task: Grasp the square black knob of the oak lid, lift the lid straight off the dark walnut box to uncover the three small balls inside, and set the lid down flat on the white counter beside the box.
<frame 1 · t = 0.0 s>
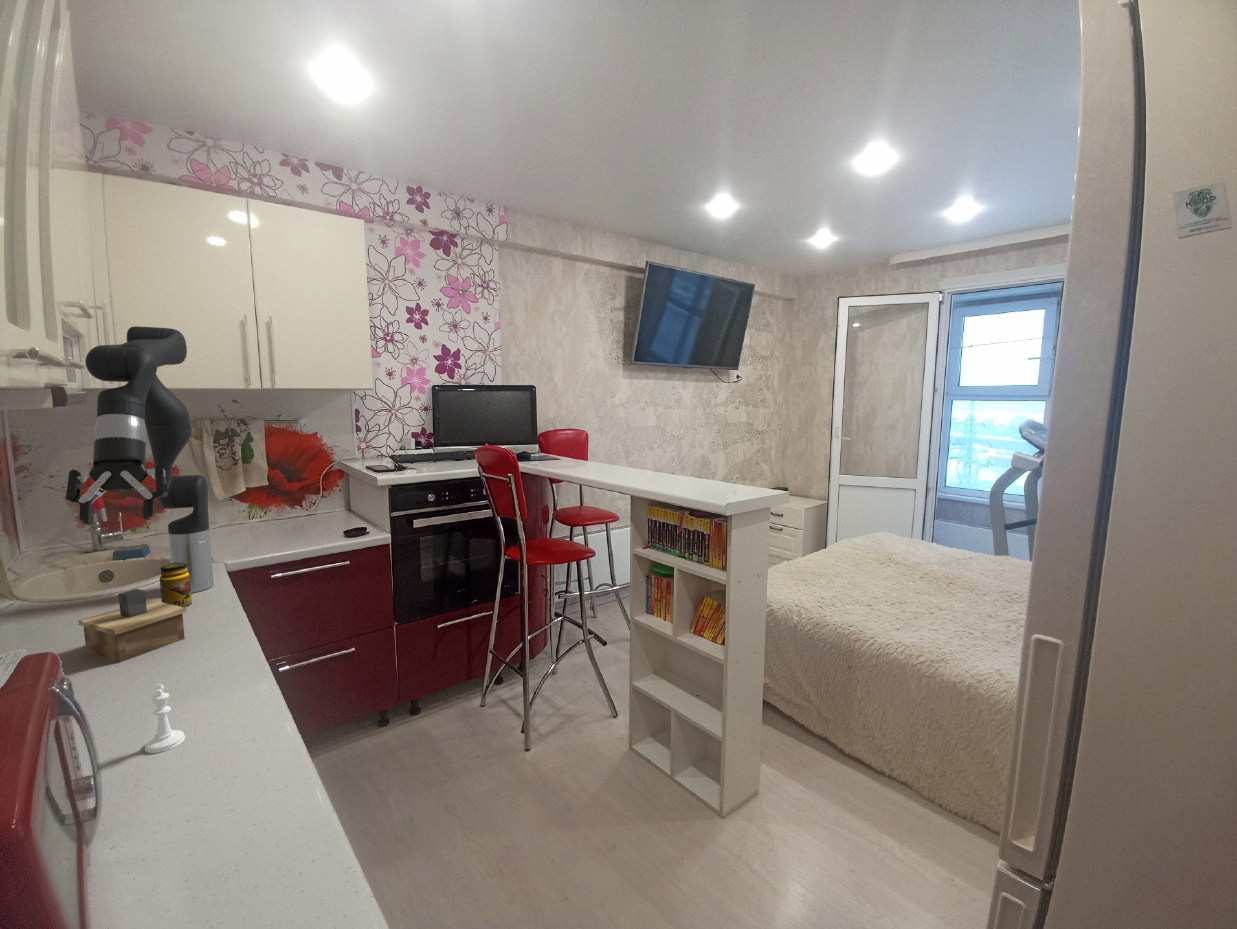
hand: (118, 521, 102), 31 cm above the countertop, tool tilted 20°, fingers open, 8 cm apart
chess piece: (165, 744, 85), on the countertop
condiment: (173, 610, 140), on the countertop
ball cream: (130, 651, 114), point 1 cm above the countertop, touching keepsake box
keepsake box: (137, 648, 117), on the countertop
lid: (134, 618, 117), point 7 cm above the countertop, touching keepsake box
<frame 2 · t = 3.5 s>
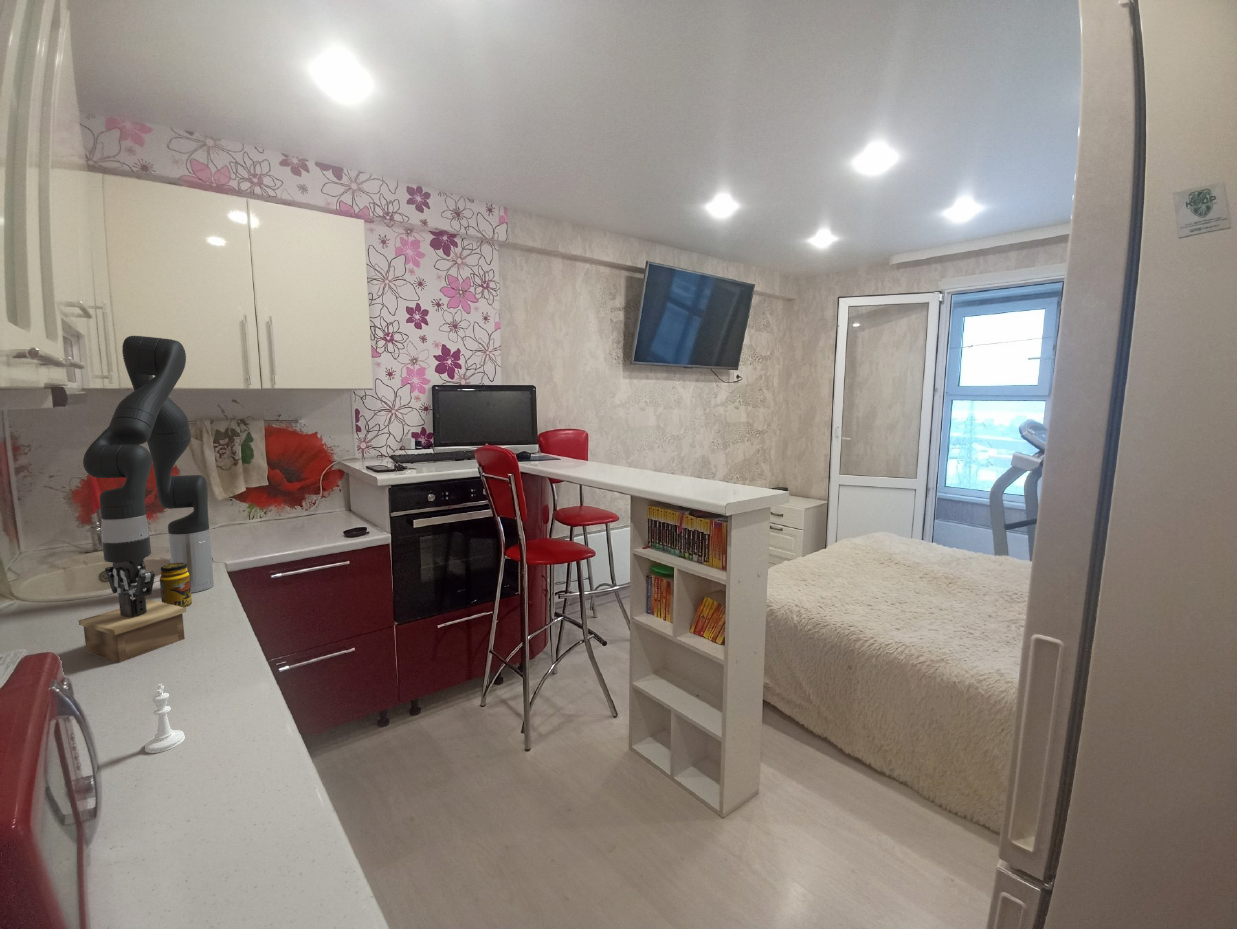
hand: (133, 613, 117), 8 cm above the countertop, tool pointing down, fingers closed on lid, 3 cm apart
lid: (134, 618, 117), point 7 cm above the countertop, touching gripper, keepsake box
everything else where it was.
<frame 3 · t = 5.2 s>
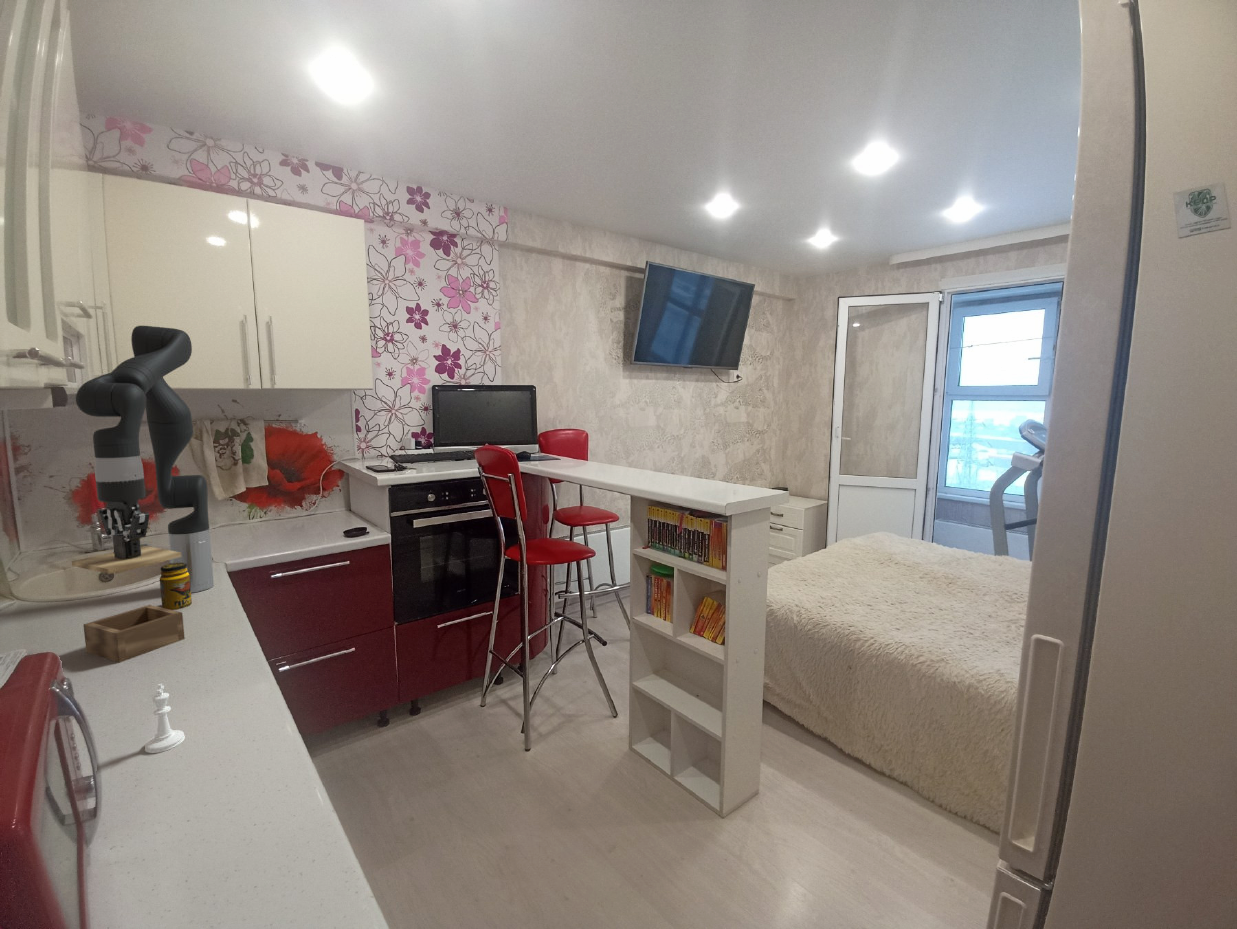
hand: (128, 555, 115), 21 cm above the countertop, tool pointing down, fingers closed on lid, 3 cm apart
lid: (128, 561, 115), point 20 cm above the countertop, touching gripper
everything else where it was.
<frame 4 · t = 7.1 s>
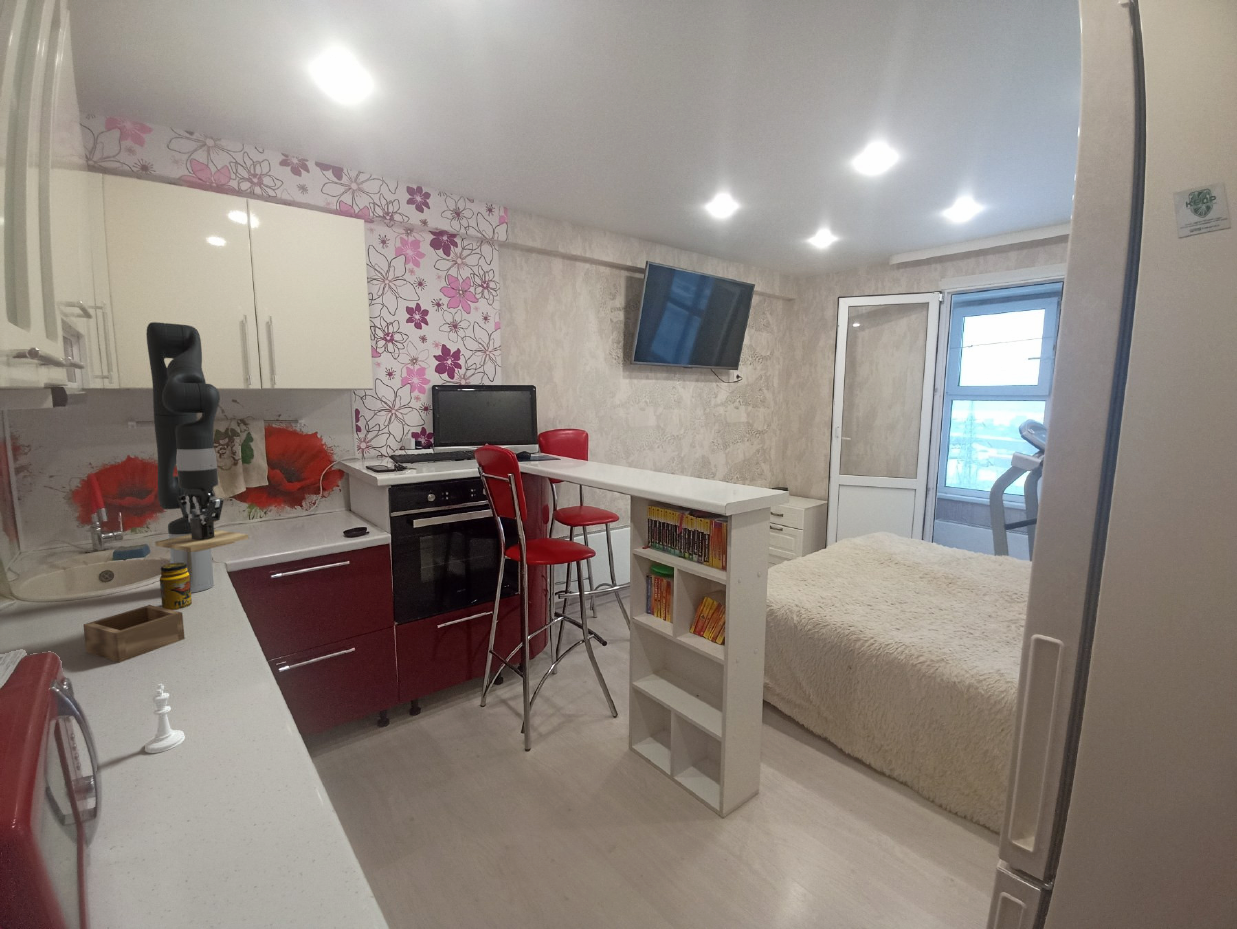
hand: (203, 537, 129), 22 cm above the countertop, tool pointing down, fingers closed on lid, 3 cm apart
lid: (203, 542, 129), point 20 cm above the countertop, touching gripper
everything else where it was.
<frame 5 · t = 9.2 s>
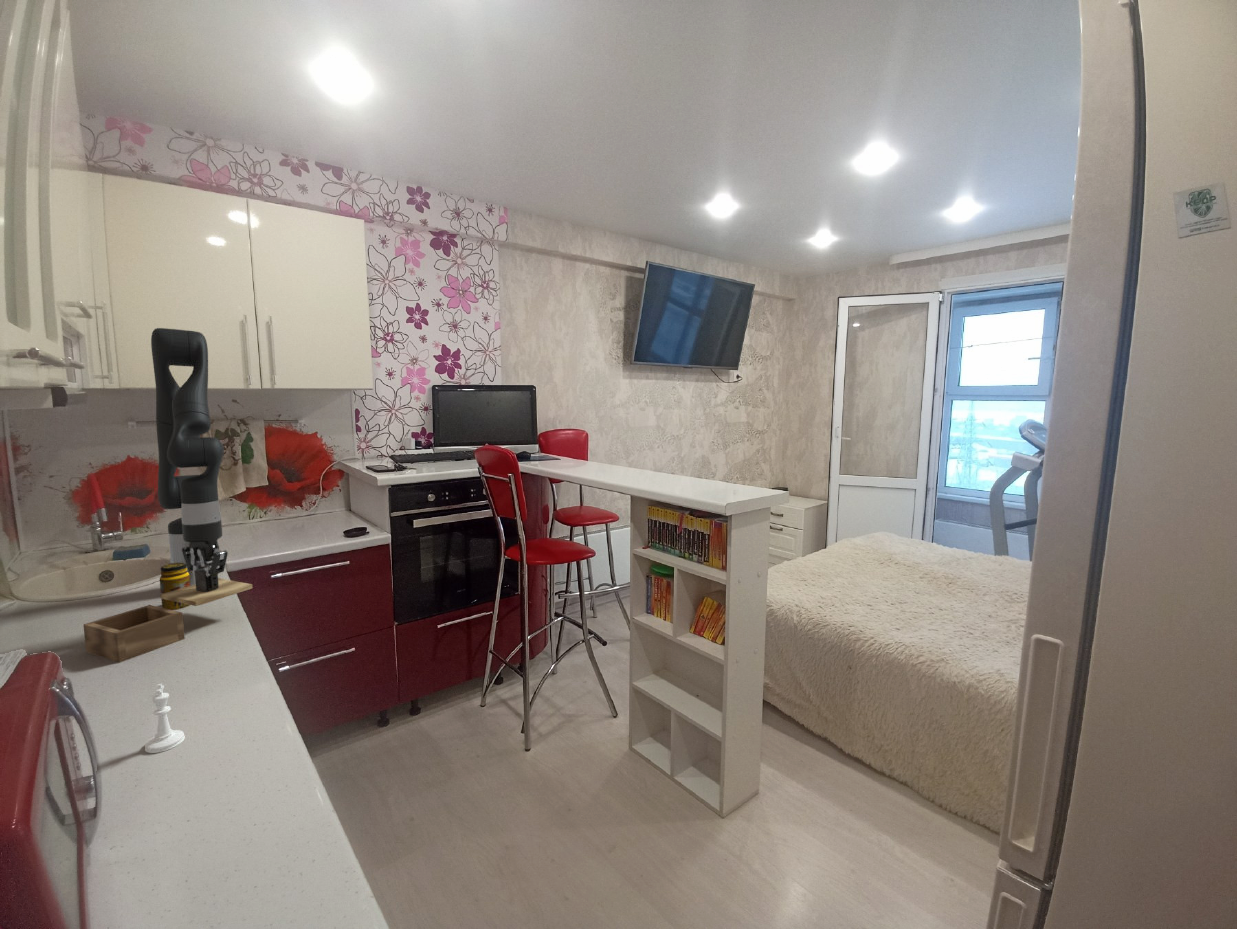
hand: (207, 588, 130), 9 cm above the countertop, tool pointing down, fingers closed on lid, 3 cm apart
lid: (207, 593, 130), point 8 cm above the countertop, touching gripper
everything else where it was.
when the fingers open (4 cm above the countertop, at t = 11.0 s): lid drops 2 cm, point 1 cm above the countertop.
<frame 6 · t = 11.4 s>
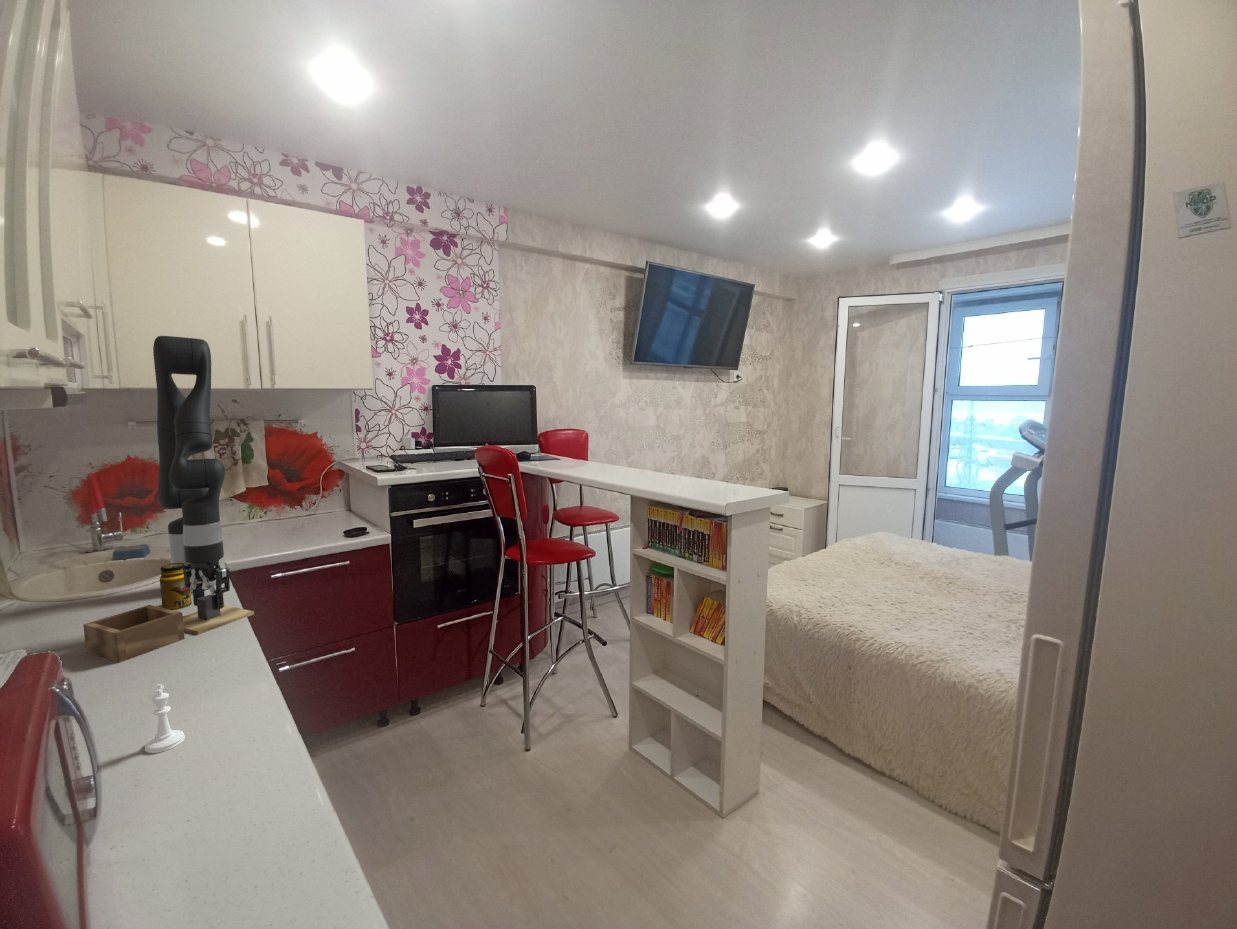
hand: (208, 606, 131), 4 cm above the countertop, tool pointing down, fingers open, 6 cm apart
lid: (209, 620, 131), point 1 cm above the countertop
everything else where it was.
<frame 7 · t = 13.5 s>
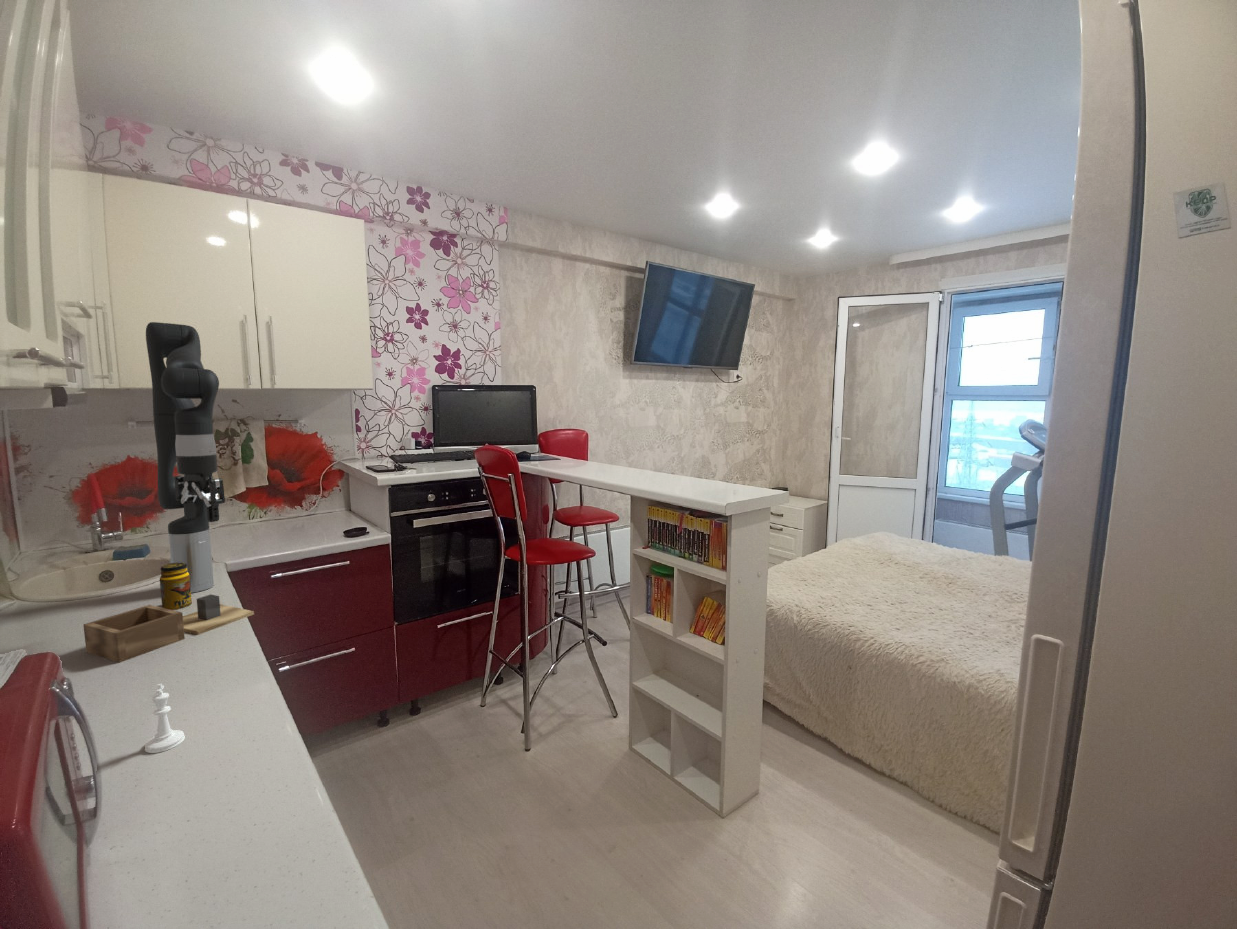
hand: (201, 519, 128), 26 cm above the countertop, tool pointing down, fingers open, 8 cm apart
nothing on the countertop moved.
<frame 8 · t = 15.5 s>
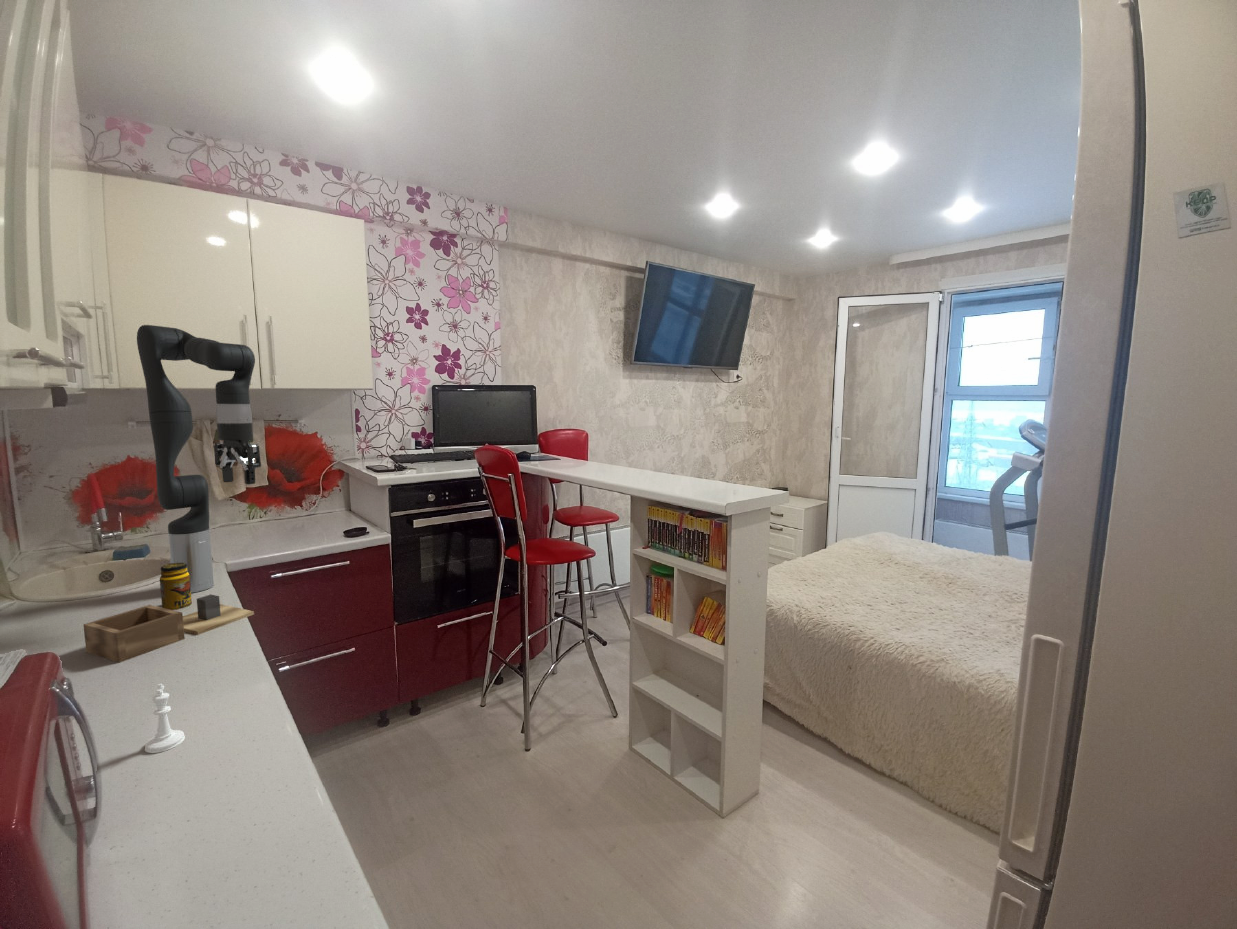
hand: (239, 483, 140), 33 cm above the countertop, tool pointing down, fingers open, 8 cm apart
nothing on the countertop moved.
at the end: lid inside the target area (0.1 cm from its centre), point 0.5 cm above the countertop; lid touching countertop; lid tilted 0° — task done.
